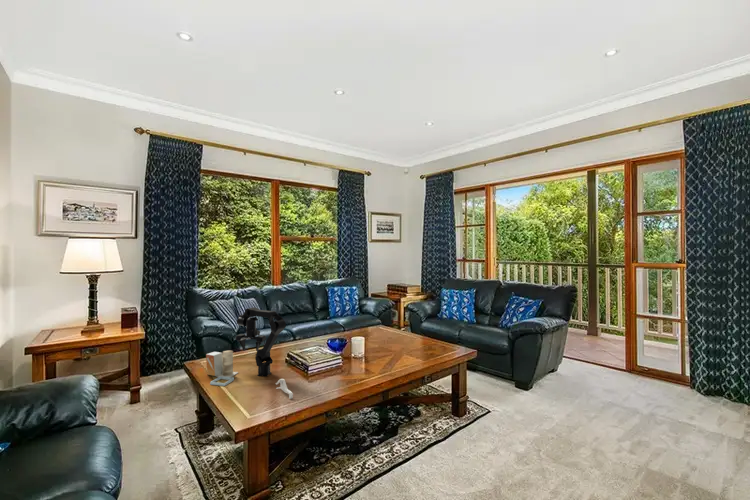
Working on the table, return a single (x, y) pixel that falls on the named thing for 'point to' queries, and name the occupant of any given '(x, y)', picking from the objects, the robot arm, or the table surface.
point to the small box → (214, 363)
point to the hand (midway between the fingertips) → (250, 350)
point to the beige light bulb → (227, 363)
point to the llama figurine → (284, 387)
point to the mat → (229, 375)
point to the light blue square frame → (222, 383)
